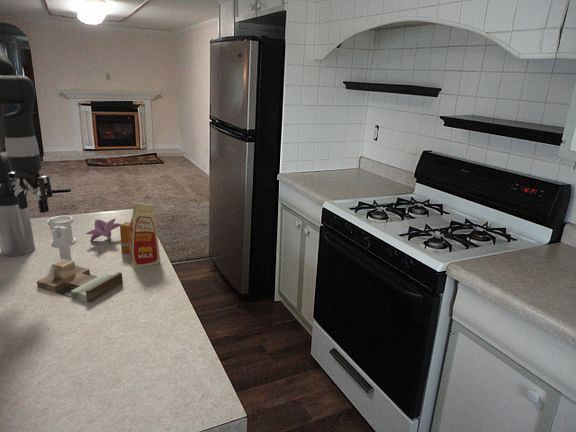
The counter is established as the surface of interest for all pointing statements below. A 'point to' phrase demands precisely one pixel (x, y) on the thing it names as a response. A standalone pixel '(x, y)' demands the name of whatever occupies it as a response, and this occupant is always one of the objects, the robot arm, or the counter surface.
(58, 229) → the white tall cylindrical piece
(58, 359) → the counter surface
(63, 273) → the maple block
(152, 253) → the milk carton
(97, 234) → the lily
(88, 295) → the trap track
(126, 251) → the supplement box
